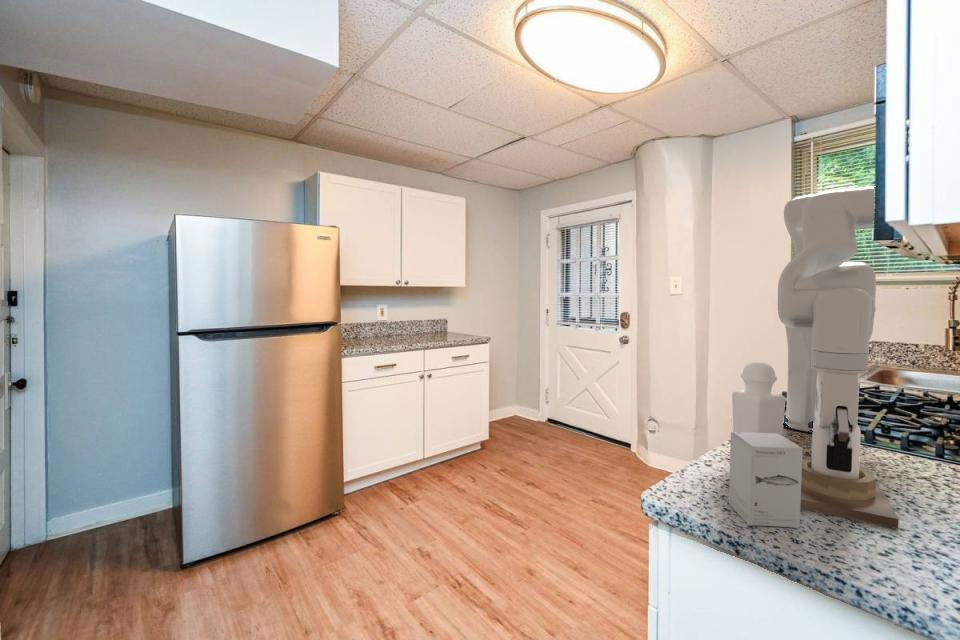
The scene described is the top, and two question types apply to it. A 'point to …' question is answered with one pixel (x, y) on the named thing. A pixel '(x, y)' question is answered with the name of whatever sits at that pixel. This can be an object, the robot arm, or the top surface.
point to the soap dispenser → (758, 401)
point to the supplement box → (765, 479)
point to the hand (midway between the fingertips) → (835, 461)
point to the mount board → (846, 496)
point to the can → (820, 452)
